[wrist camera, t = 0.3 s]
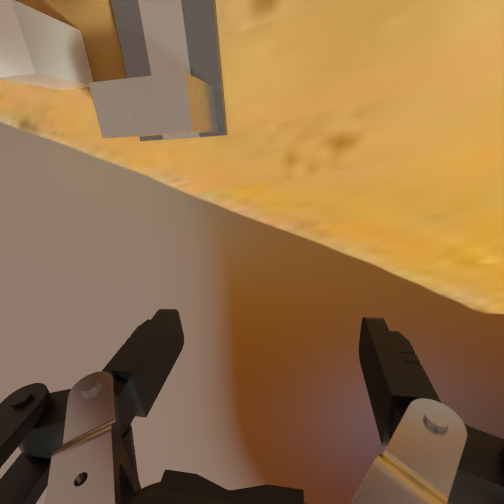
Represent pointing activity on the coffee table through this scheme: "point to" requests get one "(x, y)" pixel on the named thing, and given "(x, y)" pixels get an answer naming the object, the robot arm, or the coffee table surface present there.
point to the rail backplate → (164, 72)
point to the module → (41, 49)
